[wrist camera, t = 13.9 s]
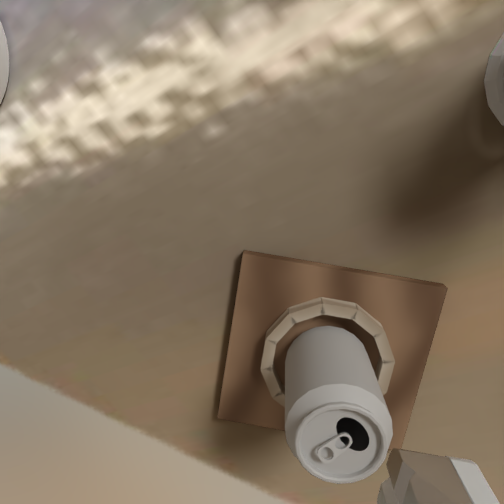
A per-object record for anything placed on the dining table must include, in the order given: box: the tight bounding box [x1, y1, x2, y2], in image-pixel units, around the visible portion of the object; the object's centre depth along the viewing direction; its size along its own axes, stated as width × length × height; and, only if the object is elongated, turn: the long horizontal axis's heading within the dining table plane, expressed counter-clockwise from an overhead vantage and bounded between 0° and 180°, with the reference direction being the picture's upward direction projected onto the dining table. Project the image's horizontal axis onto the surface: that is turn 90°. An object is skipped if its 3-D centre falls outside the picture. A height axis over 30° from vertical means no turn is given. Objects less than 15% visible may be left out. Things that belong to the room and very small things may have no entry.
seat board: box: [217, 250, 448, 450], centre depth 41 cm, size 18×17×3 cm
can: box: [285, 326, 393, 484], centre depth 35 cm, size 8×8×12 cm
